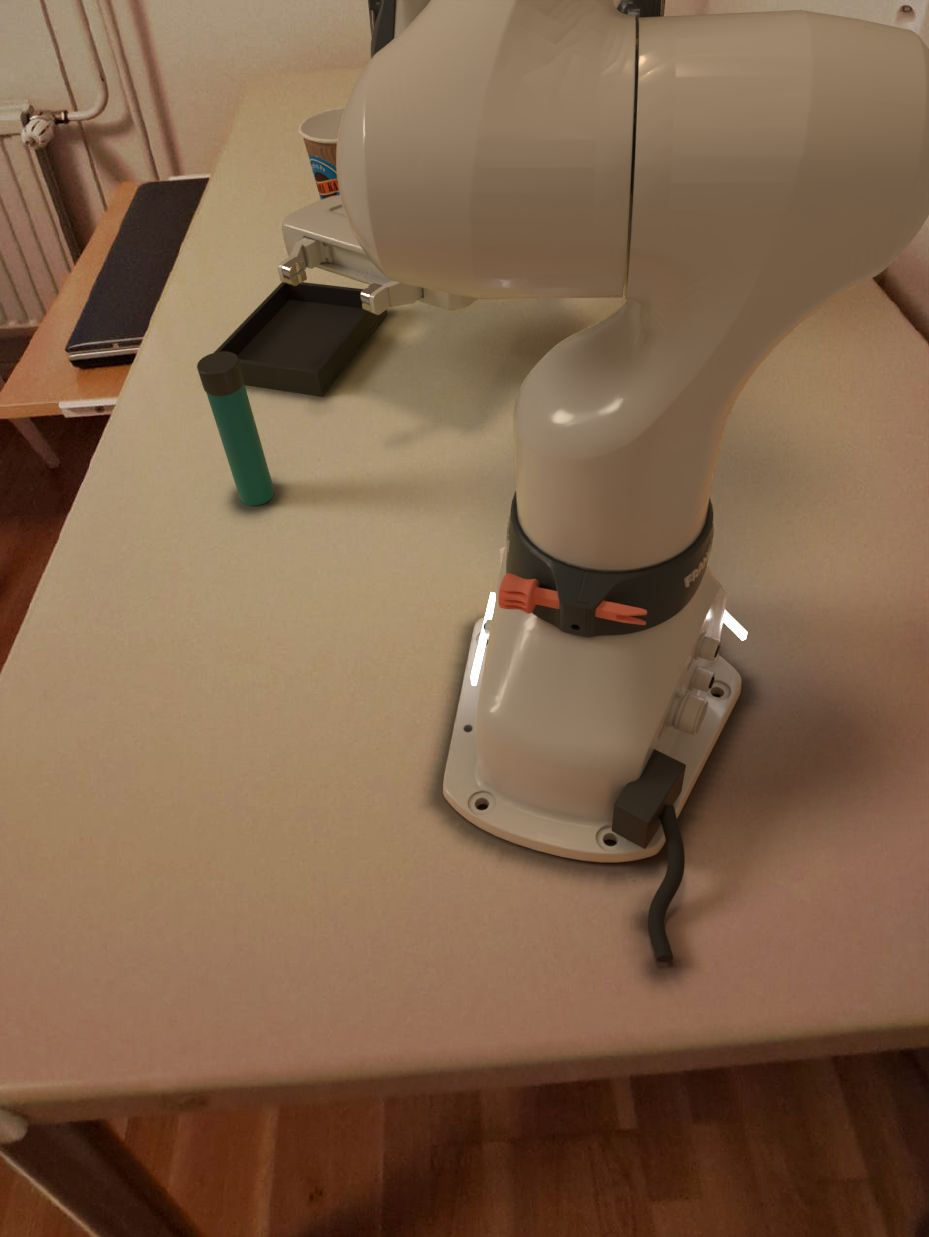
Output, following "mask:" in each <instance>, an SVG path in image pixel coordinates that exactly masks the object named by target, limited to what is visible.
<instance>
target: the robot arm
mask: <svg viewBox="0 0 929 1237" xmlns="http://www.w3.org/2000/svg"><path fill="white" fill-rule="evenodd" d="M620 2H621V0H383V1H382V4H381V7H380V10H379V13H378V16H377V19H376V23H375V26H374V30H373V34H372V36H371V40H370V60H369V61H368V62H367V64H366V65H365V66H364V68H363V70H362V71H361V72H360V75H359V76H358V78H357V79H356V80H355V83H354V84H353V87H352V89H351V92H350V93H349V95H348V97H347V99H346V102H345V106H344V107H345V109H344V112H343V115H342V118H341V122H340V128H339V133H338V139H337V151H336V171H337V181H338V187H339V193H340V195H336V196H331V197H327V198H324V199H322V200H321V199H319V200H317V201H315V202H312V203H310V204H308V205H305V206H304V207H302V208H299V209H297V210H295V211H293V212H291V213H289V214H288V215H286V216H285V217H284V218H283V220H282V224H281V231H282V237H283V241H284V245H285V250H286V253H287V256H288V257H286V258H285V259H284V260H281V261H280V262H279V263H278V265H277V272H278V276H279V280H280V282H281V283H282V282H283V283H286V284H289V285H293V286H297V285H298V284H299V283H302V282H305V281H307V280H308V277H307V272H306V270H307V269H310V270H312V269H314V268H317V269H320V270H323V271H326V272H329V273H332V274H335V275H339V276H341V277H344V278H349V279H350V280H354V281H356V282H360V283H363V284H366V285H368V286H367V287H366V288H363V289H364V290H363V291H362V292H361V295H360V296H361V301H362V302H363V303H362V308H363V310H366V311H369V312H371V313H374V314H376V315H379V314H381V313H382V312H384V311H385V310H387V311H388V309H391V308H396V307H401V306H404V305H409V304H414V303H416V302H417V301H418V302H422V303H424V304H428V305H429V306H434V307H436V308H440V309H442V310H446V311H458V310H463V309H466V308H468V307H470V306H472V305H473V304H474V303H475V302H477V301H478V300H521V299H522V300H524V299H525V300H527V299H529V300H531V299H535V300H536V299H619V298H620V299H623V296H624V301H625V302H623V304H621V305H620V306H619V307H618V308H617V309H616V310H615V311H613V312H612V313H610V314H609V315H608V316H606V317H605V318H603V319H601V320H599V321H598V322H596V323H593V324H592V325H589V326H587V327H585V328H583V329H581V330H579V331H577V332H576V333H572V334H571V335H569V336H567V337H566V338H564V339H563V340H561V341H560V342H558V343H557V344H555V345H554V346H553V347H552V348H551V349H550V350H548V351H547V353H546V354H545V355H543V356H542V358H540V360H538V362H537V363H536V364H535V365H534V366H533V367H532V369H531V370H530V371H529V372H528V374H526V377H525V378H524V380H523V382H522V384H521V385H520V387H519V390H518V392H517V394H516V398H515V400H514V401H515V402H514V405H513V412H512V418H513V419H512V422H513V425H512V426H513V446H514V448H513V449H514V470H515V492H514V494H513V497H512V500H511V505H510V506H511V507H510V511H509V512H510V513H509V517H508V522H507V528H506V539H505V540H506V542H505V546H502V547H500V549H499V560H500V561H499V562H500V572H499V577H498V582H497V586H496V592H492V591H490V594H489V598H488V602H487V606H486V611H485V615H484V616H483V617H481V618H479V619H478V620H477V621H476V622H475V623H474V626H473V630H472V635H471V640H470V645H469V649H468V655H467V659H466V665H465V670H464V674H463V680H462V683H461V684H462V685H461V690H460V695H459V700H458V705H457V709H456V715H455V719H454V725H453V729H452V734H451V739H450V744H449V748H448V749H449V750H448V755H447V760H446V764H445V769H444V776H443V781H442V782H443V783H442V794H443V797H444V799H445V800H446V801H447V802H448V804H449V805H450V806H451V807H452V808H453V809H454V810H455V811H456V812H457V813H458V814H459V815H460V816H462V817H463V818H464V819H465V820H467V821H468V822H470V824H471V823H472V824H473V825H475V826H476V827H478V829H481V830H483V831H485V832H487V833H489V834H491V835H493V836H495V837H498V838H500V839H503V840H505V841H507V842H510V843H511V844H515V845H519V846H521V847H525V848H527V849H530V850H533V851H536V852H541V853H544V854H549V855H552V856H557V857H561V858H566V859H572V860H578V861H583V862H594V863H624V862H626V863H627V862H633V861H639V860H644V859H647V858H651V857H654V856H656V855H657V854H659V853H660V851H661V850H662V848H663V847H664V845H665V844H666V848H667V849H666V850H667V867H666V872H665V875H664V877H663V880H662V881H661V883H660V886H659V887H658V889H657V890H656V892H655V894H654V896H653V897H652V900H651V903H650V905H649V909H648V916H647V929H648V936H649V938H650V942H651V945H652V949H653V951H654V955H655V960H656V962H659V963H667V962H671V961H673V959H674V956H673V955H674V954H673V951H672V947H671V944H670V942H669V939H668V936H667V932H666V925H665V923H666V916H667V911H668V909H669V907H670V904H671V903H672V900H673V899H674V897H675V895H676V894H677V892H678V890H679V888H680V886H681V883H682V881H683V877H684V874H685V864H686V860H685V858H686V856H685V854H686V853H685V846H684V841H683V836H682V833H681V828H680V825H679V822H678V818H679V817H680V814H681V812H682V810H683V808H684V806H685V804H686V803H687V800H688V798H689V796H690V795H691V793H692V791H693V789H694V786H695V785H696V782H697V781H698V778H699V777H700V774H701V773H702V770H703V769H704V767H705V764H706V763H707V760H708V759H709V756H710V755H711V753H712V751H713V749H714V747H715V745H716V743H717V741H718V740H719V737H720V735H721V733H722V731H723V729H724V728H725V725H726V724H727V721H728V719H729V717H730V715H731V714H732V712H733V709H734V708H735V705H736V704H737V701H738V700H739V698H740V695H741V693H742V677H741V675H740V673H739V671H737V669H736V668H735V667H734V666H733V665H732V664H731V663H729V661H727V660H726V659H725V658H724V657H722V656H721V655H720V654H719V652H720V648H721V645H722V641H721V639H722V632H723V626H724V624H725V625H726V627H727V628H729V629H730V630H731V631H732V632H733V633H734V634H735V635H736V637H738V638H739V639H740V640H741V641H745V640H747V636H748V631H747V630H746V629H745V628H744V627H743V626H742V625H741V624H740V623H739V622H738V621H737V620H736V619H735V618H734V617H733V616H732V615H731V614H730V613H729V612H728V611H727V610H726V604H727V598H728V592H727V591H726V589H724V587H723V584H722V583H721V582H720V581H719V580H718V579H717V577H716V576H715V575H714V574H713V572H712V570H711V569H710V567H709V565H708V562H709V556H710V554H711V552H712V547H713V541H714V540H713V539H714V533H715V531H714V529H715V528H714V509H713V503H712V500H711V497H710V496H711V491H712V484H713V481H714V475H715V471H716V466H717V462H718V458H719V453H720V449H721V445H722V441H723V437H724V435H725V431H726V427H727V424H728V421H729V418H730V415H731V412H732V410H733V408H734V406H735V404H736V402H737V400H738V399H739V397H740V394H741V393H742V391H743V390H744V389H745V387H746V385H747V384H748V382H749V381H750V379H751V378H752V377H753V375H754V374H755V373H756V371H757V370H758V369H759V367H761V365H762V363H763V362H764V361H765V360H766V359H767V358H768V357H769V356H770V354H771V353H772V352H773V351H774V350H775V349H776V348H777V347H778V346H779V345H780V344H781V343H782V342H783V341H784V340H785V339H786V338H787V337H788V336H789V335H791V333H792V332H793V331H794V330H796V329H798V327H799V326H801V325H802V324H803V323H804V322H805V321H806V320H808V319H809V318H810V317H811V316H812V315H814V314H815V313H817V312H818V311H819V310H821V309H822V308H823V307H825V306H826V305H828V304H829V303H831V302H832V301H834V300H835V299H837V298H838V297H841V296H843V295H844V294H846V293H847V292H849V291H850V290H852V289H854V288H855V287H857V286H859V285H861V284H864V283H865V282H867V281H869V280H871V279H872V278H875V277H877V276H878V275H880V274H882V272H884V271H885V270H886V269H887V268H888V267H889V266H890V265H891V264H893V263H894V262H895V261H896V260H897V258H898V257H899V256H901V254H902V253H903V252H904V251H905V250H906V249H907V248H908V246H910V244H911V243H912V241H913V240H914V239H915V237H916V236H917V235H918V233H919V232H920V231H921V229H922V228H923V226H924V225H925V222H926V221H927V219H928V218H929V47H928V46H927V45H926V43H925V42H924V40H923V39H922V38H921V36H920V35H919V34H917V33H916V31H914V30H912V29H907V28H902V27H899V26H893V25H888V24H884V23H879V22H876V21H875V22H874V21H869V20H865V19H860V18H854V17H849V16H843V15H835V14H829V13H822V12H816V11H810V10H805V9H792V10H791V9H790V10H770V11H769V10H768V11H767V10H766V11H749V12H727V13H706V14H684V15H664V16H662V17H641V18H638V20H637V26H636V18H635V15H626V14H623V13H621V12H620V11H618V10H617V7H618V5H619V3H620ZM714 695H719V696H718V697H717V696H714ZM480 805H485V806H487V808H485V809H478V807H479V806H480ZM606 840H611V841H614V842H615V844H613V845H609V844H606V843H605V841H606Z"/></svg>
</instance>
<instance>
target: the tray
mask: <svg viewBox="0 0 929 1237" xmlns="http://www.w3.org/2000/svg"><path fill="white" fill-rule="evenodd" d="M364 289H365V288H356V287H348V286H339V285H331V284H324V283H323V284H322V283H313V282H307V281H306V282H305V281H303V282H302V283H299V284H298V285H297V286H293V285H289V284H286V283H283V282H282V281H281V282H280V283H279V285H277V287H275V289H274V290H273V291H272V292H271V293H270V294H269V295H268V296H267V297H266V298H264V300H263V301H262V302H261V303H260V304H259V305H258V306H257V307H255V308H256V309H254V310H253V311H252V312H251V313H250V314H249V315H248V316H247V318H246V319H244V320H243V322H242V323H241V324H240V325H239V326H237V328H236V329H235V330H234V331H233V332H232V333H230V335H229V336H228V337H227V338H226V339H225V341H223V342H222V344H221V345H220V346H219V347H217V348H216V350H214V351H213V353H215V352H231V353H234V354H235V355H237V357H238V358H239V362H240V365H241V369H242V372H243V376H244V380H245V382H244V384H245V386H252V387H259V388H265V389H271V390H278V391H285V392H290V393H291V392H292V393H298V394H305V395H311V396H317V397H324V396H325V394H326V393H327V392H328V391H329V389H330V388H331V386H332V385H333V384H334V383H335V381H336V380H338V377H339V376H340V375H341V374H342V372H343V371H344V370H345V368H347V366H348V365H349V363H351V361H352V360H353V358H354V357H355V356H356V355H357V353H358V352H359V351H360V349H361V348H362V347H363V346H364V344H365V343H366V342H367V341H368V339H369V338H370V337H371V335H372V334H373V333H374V332H375V331H376V329H377V328H378V327H379V325H380V324H381V323H382V322H383V320H384V319H385V318H386V316H387V315H388V309H387V310H385V311H384V312H382V313H381V314H379V315H376V314H374V313H371V312H369V311H366V310H363V308H362V303H363V302H362V301H361V296H360V295H361V292H362V291H363V290H364Z"/></svg>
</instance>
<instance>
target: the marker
mask: <svg viewBox="0 0 929 1237" xmlns="http://www.w3.org/2000/svg"><path fill="white" fill-rule="evenodd" d="M214 352H215V351H214ZM214 352H212V353H209V354H206V355H205V356H203V357H202V358H200V359H199V361H198V362H197V364H196V369H197V373H198V375H199V379H200V381H201V385H202V388H203V390H204V393H206V396H207V399H208V402H209V405H210V409H211V411H212V415H213V418H214V422H215V424H216V428H217V431H218V434H219V437H220V440H221V443H222V446H223V450H224V453H225V456H226V459H227V462H228V465H229V468H230V472H231V475H232V478H233V481H234V484H235V487H236V488H235V489H236V491H237V493H238V497H239V501H241V503H243V504H244V505H246V506H251V507H256V506H261V505H263V504H266V503H268V502H269V501H271V500H272V498H274V495H275V488H274V484H273V480H272V477H271V473H270V470H269V467H268V462H267V459H266V456H265V453H264V448H263V445H262V441H261V438H260V435H259V431H258V427H257V423H256V420H255V417H254V412H253V409H252V406H251V403H250V402H251V401H250V398H249V396H248V391H247V388H246V385H245V384H244V382H245V380H244V376H243V372H242V369H241V365H240V362H239V358H238V357H237V355H235V354H234V353H231V352H215V353H214Z"/></svg>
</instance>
